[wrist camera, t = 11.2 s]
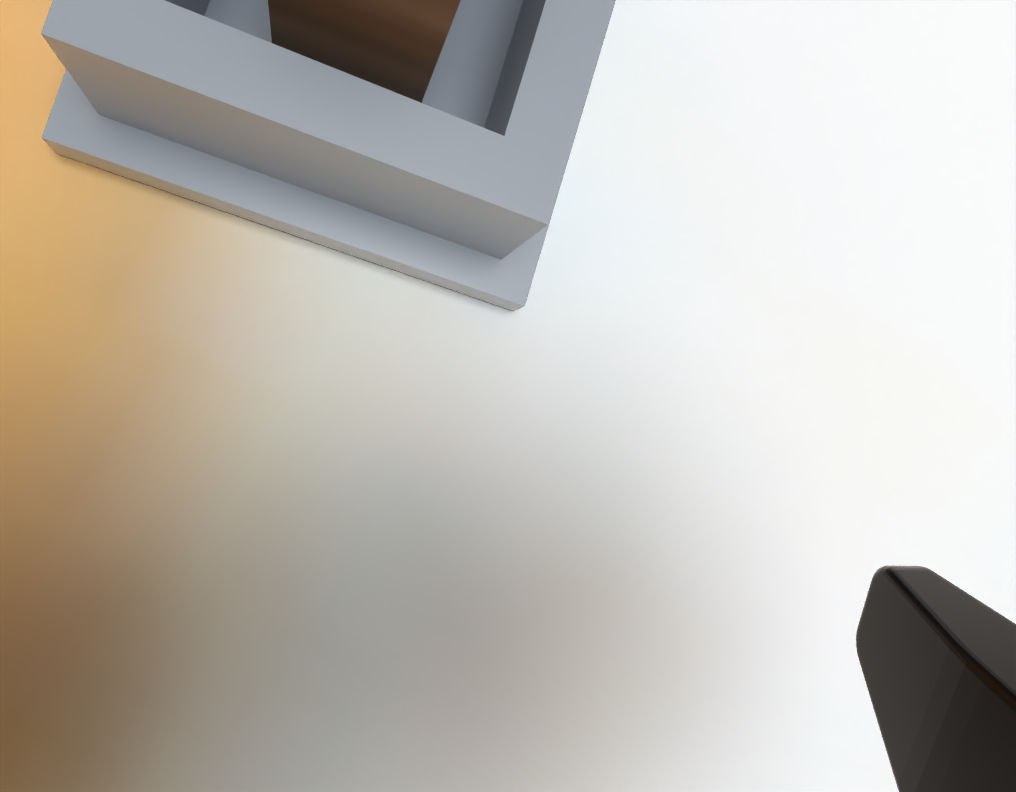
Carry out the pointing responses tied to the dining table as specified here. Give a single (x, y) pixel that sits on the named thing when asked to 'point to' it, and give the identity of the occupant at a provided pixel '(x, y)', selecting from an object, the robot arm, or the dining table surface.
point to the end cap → (339, 128)
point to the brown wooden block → (368, 37)
